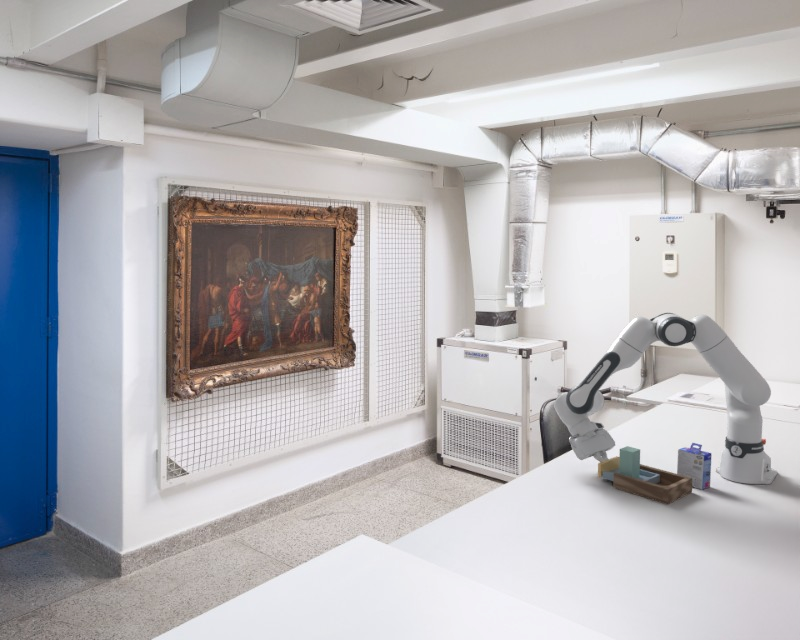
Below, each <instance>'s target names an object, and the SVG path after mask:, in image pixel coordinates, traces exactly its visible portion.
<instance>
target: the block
mask: <svg viewBox="0 0 800 640" xmlns="http://www.w3.org/2000/svg"><path fill="white" fill-rule="evenodd" d="M618 457H619V474H623V475H626V476H630V477H633V478H638V477H640V464H641V449H639V448H636V447H632V446H627V445H626V446H625V447H622V448H619V456H618Z"/></svg>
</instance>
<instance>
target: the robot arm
mask: <svg viewBox="0 0 800 640" xmlns="http://www.w3.org/2000/svg"><path fill="white" fill-rule="evenodd" d="M658 341H659V342H661V343H663V344H664V345H666V346H668V347H679V346H683V345H685V344H690V343H691V344H692V346H694V348H695V349H696V350H697V352H698V353H699V354H700V356H702V358H703V359H704V360H705V361H706V363H707V364H708V366H709V367H710V368H711V369H712V370H713V372H714V373H715V374H716V375H717V376H718V378H719V379H721V381H722V382H723V384H724V392H725V393H724V394H725V402H726V403H725V405H726V411H727V412H726V413H727V423H726V425H727V427H726V429H727V430H726V437H725V441H724V446H725V448H723V449H722V450H721V453H720V457H719V458H720V461H719V466H717V467H715V472H717V473H718V474H720V476H721V477H722V478H724V479H726V480H728V481H732V482H736V483H740V484H751V485H753V484H755V485H756V484H757V485H758V484H763V485H771V484H772V482H773V481H774V480H775V478H776V477H777V476H778V474H779V471H778V470H777V469H775V468H772V459H771V458H772V457H770V456H769V455H768V454H767V452H766V451H764V450H765V448H764V446H765V445H766V443H767V440H766V438H762V437H763V416H762V413H761V412H762V411H761V407H760V406H763V405H765V404H766V403H767V402H768V401H769V400H770V398H771V395H772V390H771V387H770V385H769V383H768V382H767V380H766V379H765V377H763V376H762V374H761V373H760V371H759V370H757V368H756V367H755V366H754V365H753V364H752V363H751V362H750V360H748V358H747V357H746V356H745V355H744V354H743V353H742V352H741V351H740V349H739V348H738V347H737V345H736V344H735V343H734V342H733V340H732V339H731V338H730V337H729V336H728V334H727V333H726V332H725V330H723V328H722V327H721V326H720V325H719V324H718V323H717V322H716V321H715V320H714V319H713V318H711V317H710V316H708V315H706V314H700V315H697V316H694V317H692V318H691V319H686V318H684V317H682V316H680V315H678V314H676V313H673V312H664V313H661V314H658V315H657V316H655V317H652V318H646V317H643V316H637V317H634V318H633V319H631V321H630V322H628V323H627V324H626V326H625V327H624V328H623V329H622V330H621V331H620V333H618V335H617V337H616V338H615V339H614V340H613V342H612V344H610V347H609V348H608V349H607V351H606V352H605V353H604V354H603V356H602V357H601V358H600V359H599V361H598V362H597V363H596V364H595V366H593V368H592V369H591V370H590V371H589V373H588V374H587V375H586V376H585V377H584V379H583V380H582V381H581V382H580V383H577V385H575V386H573V387H571V388H570V389H569V390H568V391H565V392H562V393H561V394H559V395H558V396H557V398H556V399H555V400H554V402H553V408H554V410H555V412H556V413H557V416H558V417H559V419H560V420H561V421H562V423H563V424H564V425H565V426H566V427H567V429H568V431H569V433H570V436H569V437H568V442H569V443H570V445H571V446H570V447H571V449H572V451H573V453H574V454H575V456H576V457H577V459H579V461H583V460H586V459H589V458H591V457H593V458H594V460H596V461H597V462H598V463H600V462H603V461H606V460H608V459H609V458H608V454H607V452H608V451H610V450H612V449H613V448H614V447H615V446H616V441H615V440H614V438H613V437H612V435H611V434H610V432H608V430H607V429H605V426H604V424H603V423H602V422H596V421H593V420H592V421H591V419H590V418H589V417H591V416H592V415H594V414H597V413H599V412H600V411H601V410H602V409H603V408H604V406H605V396H604V395H603V392H601V391H600V389H601V388H602V387H603V385H604V384H605V383H606V382H607V380H608V379H609V378H610V377H612V376H613V374H615V373H617V372H619V371H621V370H625V369H629V368H631V367H633V366H634V365H635V364H636V363H637V362H638V361H639V360H640V359H641V358H642V357H643V355H644V354H645V352H646V351H647V349H648V348H649V347H650V346H651V345H652V344H653V343H655V342H658Z"/></svg>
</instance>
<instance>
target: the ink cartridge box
mask: <svg viewBox="0 0 800 640" xmlns="http://www.w3.org/2000/svg"><path fill="white" fill-rule="evenodd" d="M694 446H697V447H698V448H697V447H694ZM702 448H703V445H702V444H699V443H696V442H692V443H691V444H690V447H687V446H684V447H682V448H679V449H678V450H677V463H676V464H677V466H676V467H677V468H676V474H679V475H683V476H686V477H690V478H692V488H696V489H700V490H704V489H708V488H710V487H711V476H712V475H711V474H712V473H711V471H712V470H711V469H712V452H708V451H704V450H702Z"/></svg>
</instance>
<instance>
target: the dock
mask: <svg viewBox="0 0 800 640" xmlns="http://www.w3.org/2000/svg"><path fill="white" fill-rule="evenodd" d="M640 469H641V470H645V471H648V472H652V473H656V474H659V475H660V482H659V483H656V484H654V483H650V482H647V481H643V480H640V479H637V478H633V477H630V476H626V475H623V474H619V473H614V476H613V481H612V482H613V483H612V486H613V488H614V489H617V490H620V491H624V492H626V493H630V494H633V495H636V496H640V497H643V498H646V499H649V500H652V501H656V502H660V503H662V504H665V505H669V504H671V503H673V502H675V501H677V500H680V499H682V498H684V497H686V496H687V495H689V494H691V493H693V487H692V478H690V477H686V476H683V475H679V474H677V473H675V472H672V471H667V470H663V469H660V468H656V467H652V466H649V465H644V464H641V463H640Z"/></svg>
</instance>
